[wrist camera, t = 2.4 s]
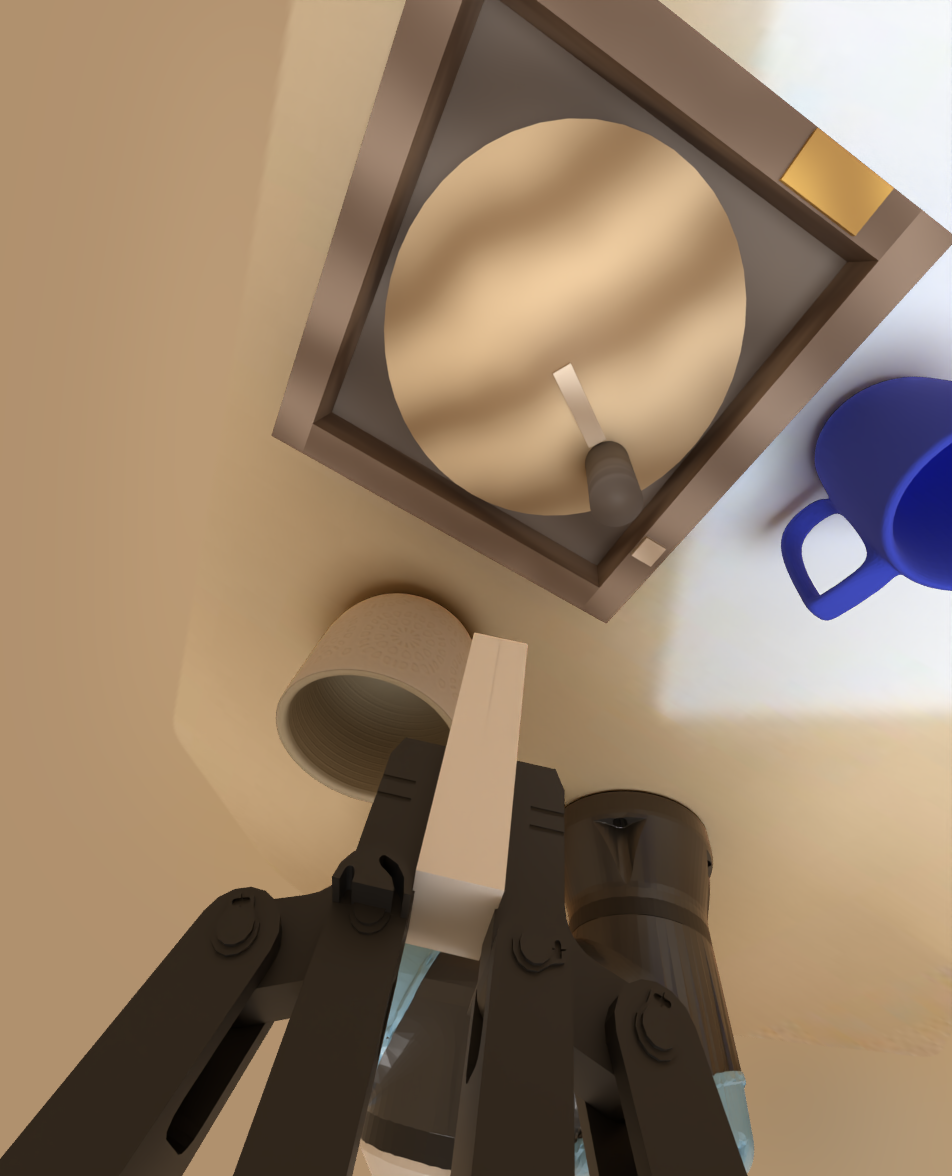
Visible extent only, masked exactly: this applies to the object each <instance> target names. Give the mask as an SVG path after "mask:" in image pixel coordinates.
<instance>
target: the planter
mask: <svg viewBox="0 0 952 1176" xmlns="http://www.w3.org/2000/svg"><path fill="white" fill-rule="evenodd" d="M471 643H472V640H471V638H470V636H469V634H468V632H467V631H466V629H465V628H464V626H463V625H462V624H461V622H460V621H459V620H458V619H457V618H456V617H455V616H454V615H453V614H451V613H450V612H449V611H448V610H446V609H445V608H444V607H442V606H440V605H439V604H437V603H435V602H433V601H431V600H428V599H426V598H423V597H420V596H416V595H411V594H402V593H391V594H383V595H378V596H374V597H371V598H368V599H366V600H363V601H361V602H359V603H357V604H356V605H354V606H352V607H351V608H349V609H348V610H347V611H345V612H344V613H343V614H342V615H341V616H340V617H339V618H338V619H337V620H336V621H335V622H334V623H333V624H332V625H331V626H330V627H329V629H328V630H327V631H326V633H325V634H324V635H323V637H322V638H321V639H320V641H319V642H318V643H317V645H316V646H315V647H314V649H313V650H312V652H311V653H310V655H309V656H308V658H307V659H306V661H305V662H304V664H303V665H302V667H301V668H300V670H299V671H298V673H297V674H296V675H295V677H294V678H293V680H292V681H291V682H290V684H289V686H288V687H287V689H286V690H285V692H284V693H283V695H282V697H281V699H280V701H279V703H278V706H277V711H276V725H277V730H278V734H279V737H280V739H281V742H282V744H283V745H284V747H285V749H286V751H287V752H288V753H289V755H290V756H291V757H292V759H293V760H294V761H295V762H296V763H297V764H298V765H299V766H300V767H301V768H302V769H303V770H304V771H305V772H306V773H308V774H309V775H310V776H311V777H313V778H314V779H315V780H317V781H318V782H320V783H322V784H323V785H325V786H327V787H329V788H330V789H332V790H334V791H336V792H339V793H341V794H343V795H346V796H349V797H351V798H355V799H358V800H361V801H365V802H370V803H373V802H374V799H375V796H376V794H377V790H378V788H379V785H380V782H381V779H382V777H383V774H384V771H385V768H386V765H387V762H388V759H389V757H390V754H391V752H392V751H393V750H394V749H395V748H396V747H397V746H398V745H399V744H400V743H401V742H402V741H403V740H404V739H405V738H406V737H407V738H411V739H416V740H420V741H425V742H429V743H433V744H438V745H442V746H447V741H448V737H449V733H450V729H451V725H452V721H453V717H454V713H455V709H456V705H457V701H458V697H459V692H460V688H461V684H462V680H463V676H464V672H465V668H466V664H467V660H468V656H469V652H470V648H471Z"/></svg>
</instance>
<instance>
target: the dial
mask: <svg viewBox="0 0 952 1176" xmlns="http://www.w3.org/2000/svg"><path fill="white" fill-rule="evenodd" d="M745 316H746V289H745V278H744V268H743V264H742V260H741V255H740V251H739V247H738V242H737V240H736V237H735V234H734V232H733V229H732V227H731V224H730V221H729V219H728V216H727V214H726V212H725V211H724V209H723V207H722V205H721V204H720V202H719V200H718V198H717V197H716V195H715V193H714V191H713V190H712V189H711V188H710V186H709V185H708V184H707V183H706V181H705V180H704V179H703V178H702V176H701V175H700V174H699V173H698V171H697V170H696V169H695V168H694V167H693V166H692V165H691V164H689V163H688V162H687V161H686V160H685V159H684V158H683V157H682V156H680V155H679V154H678V153H677V152H676V151H675V150H673V149H672V148H670V147H669V146H667V145H665V144H664V143H662V142H661V141H659V140H657V139H656V138H654V137H652V136H651V135H649V134H646V133H644V132H641V131H639V130H636V129H633V128H631V127H628V126H626V125H623V124H618V123H613V122H608V121H603V120H598V119H569V118H568V119H561V120H554V121H548V122H541V123H537V124H534V125H531V126H528V127H525V128H522V129H519V130H515V131H512V132H510V133H508V134H506V135H504V136H502V137H500V138H498V139H497V140H495V141H493V142H491V143H489V144H487V145H485V146H484V147H482V148H481V149H480V150H478V151H477V152H475V153H474V154H473V155H471V156H470V157H468V158H467V159H466V160H464V161H463V162H462V163H461V164H460V165H459V166H458V167H457V168H455V169H454V170H453V171H452V172H451V173H450V174H449V175H448V176H447V177H446V178H445V179H444V180H443V181H442V182H441V183H440V184H439V186H438V187H437V188H436V189H435V191H434V192H433V193H432V194H431V196H430V197H429V198H428V199H427V201H426V202H425V203H424V205H423V206H422V208H421V210H420V211H419V213H418V215H417V216H416V218H415V220H414V221H413V223H412V225H411V226H410V228H409V230H408V232H407V235H406V237H405V239H404V241H403V244H402V246H401V248H400V250H399V252H398V256H397V259H396V262H395V265H394V269H393V272H392V275H391V278H390V284H389V289H388V294H387V300H386V307H385V322H384V339H385V356H386V362H387V368H388V374H389V379H390V382H391V386H392V389H393V393H394V397H395V400H396V402H397V405H398V407H399V409H400V412H401V414H402V417H403V419H404V421H405V423H406V425H407V426H408V428H409V430H410V432H411V434H412V435H413V437H414V439H415V440H416V442H417V443H418V444H419V446H420V447H421V449H422V450H423V451H424V453H425V454H426V455H427V457H428V458H429V459H430V460H431V461H432V462H433V463H434V464H435V465H436V466H437V467H438V469H439V470H440V471H442V472H443V473H444V474H445V475H446V476H447V477H449V478H450V479H451V480H452V481H453V482H454V483H456V484H457V485H459V486H460V487H462V488H463V489H465V490H466V491H468V492H469V493H471V494H472V495H474V496H476V497H478V498H480V499H482V500H484V501H486V502H488V503H491V504H494V505H496V506H499V507H502V508H505V509H508V510H512V511H517V512H521V513H526V514H535V515H545V516H549V515H570V514H577V513H584V512H588V511H591V513H592V515H593V517H594V518H595V519H596V520H597V521H598V522H599V523H601V524H603V525H606V526H609V527H619V526H624V525H626V524H628V523H630V522H632V521H633V520H634V519H635V518H636V517H637V516H638V515H639V513H640V512H641V510H642V507H643V495H642V492H641V491H642V490H643V489H645V488H646V487H648V486H649V485H651V484H652V483H654V482H655V481H657V480H658V479H659V478H661V477H662V476H663V475H665V474H666V473H667V472H668V471H669V470H670V469H672V468H673V467H674V466H675V465H676V464H677V463H678V462H680V461H681V459H682V458H683V457H684V456H685V455H686V454H687V453H688V452H689V451H690V450H691V449H692V447H693V446H694V445H695V444H696V443H697V442H698V440H699V439H700V437H701V436H702V435H703V433H704V432H705V431H706V429H707V428H708V427H709V425H710V424H711V422H712V420H713V418H714V417H715V415H716V413H717V411H718V410H719V408H720V406H721V404H722V403H723V400H724V398H725V396H726V393H727V391H728V389H729V386H730V384H731V382H732V379H733V377H734V373H735V370H736V366H737V363H738V360H739V356H740V353H741V347H742V341H743V335H744V329H745Z"/></svg>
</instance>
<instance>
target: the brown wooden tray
mask: <svg viewBox="0 0 952 1176" xmlns="http://www.w3.org/2000/svg"><path fill="white" fill-rule="evenodd" d="M568 118H569V119H598V120H603V121H608V122H613V123H618V124H623V125H626V126H628V127H631V128H633V129H636V130H639V131H641V132H644V133H646V134H649V135H651V136H652V137H654V138H656V139H657V140H659V141H661V142H662V143H664V144H665V145H667V146H669V147H670V148H672V149H673V150H675V151H676V152H677V153H678V154H679V155H680V156H682V157H683V158H684V159H685V160H686V161H687V162H688V163H689V164H691V165H692V166H693V167H694V168H695V169H696V170H697V171H698V173H699V174H700V175H701V176H702V178H703V179H704V180H705V181H706V183H707V184H708V185H709V186H710V188H711V189H712V190H713V191H714V193H715V195H716V197H717V198H718V200H719V202H720V204H721V205H722V207H723V209H724V211H725V212H726V214H727V216H728V219H729V221H730V224H731V227H732V229H733V232H734V234H735V237H736V240H737V242H738V247H739V251H740V255H741V260H742V264H743V268H744V278H745V289H746V316H745V329H744V335H743V341H742V347H741V353H740V356H739V360H738V363H737V366H736V370H735V373H734V377H733V379H732V382H731V384H730V386H729V389H728V391H727V393H726V396H725V398H724V400H723V403H722V404H721V406H720V408H719V410H718V411H717V413H716V415H715V417H714V418H713V420H712V422H711V424H710V425H709V427H708V428H707V429H706V431H705V432H704V433H703V435H702V436H701V437H700V439H699V440H698V442H697V443H696V444H695V445H694V446H693V447H692V449H691V450H690V451H689V452H688V453H687V454H686V455H685V456H684V457H683V458H682V459H681V461H680V462H678V463H677V464H676V465H675V466H674V467H673V468H672V469H670V470H669V471H668V472H667V473H666V474H665V475H663V476H662V477H661V478H659V479H658V480H657V481H655V482H654V483H652V484H651V485H649V486H648V487H646V488H645V489H643V490H642V491H641V492H642V495H643V507H642V510H641V512H640V513H639V515H638V516H637V517H636V518H635V519H634V520H633V521H632V522H630V523H628V524H626V525H624V526H619V527H609V526H606V525H603V524H601V523H599V522H598V521H597V520H596V519H595V518H594V517H593V515H592V513H591V511H588V512H584V513H577V514H570V515H549V516H545V515H535V514H526V513H521V512H517V511H512V510H508V509H505V508H502V507H499V506H496V505H494V504H491V503H488V502H486V501H484V500H482V499H480V498H478V497H476V496H474V495H472V494H471V493H469V492H468V491H466V490H465V489H463V488H462V487H460V486H459V485H457V484H456V483H454V482H453V481H452V480H451V479H450V478H449V477H447V476H446V475H445V474H444V473H443V472H442V471H440V470H439V469H438V467H437V466H436V465H435V464H434V463H433V462H432V461H431V460H430V459H429V458H428V457H427V455H426V454H425V453H424V451H423V450H422V449H421V447H420V446H419V444H418V443H417V442H416V440H415V439H414V437H413V435H412V434H411V432H410V430H409V428H408V426H407V425H406V423H405V421H404V419H403V417H402V414H401V412H400V409H399V407H398V405H397V402H396V400H395V397H394V393H393V389H392V386H391V382H390V379H389V374H388V368H387V362H386V356H385V339H384V322H385V307H386V300H387V294H388V289H389V284H390V278H391V275H392V272H393V269H394V265H395V262H396V259H397V256H398V252H399V250H400V248H401V246H402V244H403V241H404V239H405V237H406V235H407V232H408V230H409V228H410V226H411V225H412V223H413V221H414V220H415V218H416V216H417V215H418V213H419V211H420V210H421V208H422V206H423V205H424V203H425V202H426V201H427V199H428V198H429V197H430V196H431V194H432V193H433V192H434V191H435V189H436V188H437V187H438V186H439V184H440V183H441V182H442V181H443V180H444V179H445V178H446V177H447V176H448V175H449V174H450V173H451V172H452V171H453V170H454V169H455V168H457V167H458V166H459V165H460V164H461V163H462V162H463V161H464V160H466V159H467V158H468V157H470V156H471V155H473V154H474V153H475V152H477V151H478V150H480V149H481V148H482V147H484V146H485V145H487V144H489V143H491V142H493V141H495V140H497V139H498V138H500V137H502V136H504V135H506V134H508V133H510V132H512V131H515V130H519V129H522V128H525V127H528V126H531V125H534V124H537V123H541V122H548V121H554V120H561V119H568ZM951 245H952V234H951V233H950V232H949V231H948V230H946V229H945V228H944V227H943V226H941V225H940V224H939V223H938V222H936V221H935V220H934V219H933V218H931V217H930V216H929V215H928V214H926V213H925V212H924V211H923V210H921V209H920V208H919V207H917V206H916V205H915V204H914V203H912V202H911V201H910V200H909V199H907V198H906V197H905V196H904V195H902V194H901V193H900V192H899V191H897V190H896V189H895V188H894V187H892V186H891V185H890V184H889V183H887V182H886V181H885V180H884V179H882V178H881V177H880V176H878V175H877V174H876V173H875V172H873V171H872V170H871V169H870V168H868V167H867V166H866V165H865V164H863V163H862V162H861V161H860V160H858V159H857V158H856V157H855V156H853V155H852V154H851V153H850V152H848V151H847V150H846V149H844V148H843V147H842V146H841V145H839V144H838V143H837V142H836V141H834V140H833V139H832V138H831V137H829V136H828V135H827V134H826V133H824V132H823V131H822V130H821V129H819V128H818V127H817V126H816V125H814V124H813V123H812V122H811V121H809V120H808V119H807V118H805V117H804V116H803V115H802V114H800V113H799V112H798V111H797V110H795V109H794V108H793V107H792V106H790V105H789V104H788V103H787V102H785V101H784V100H783V99H782V98H780V97H779V96H778V95H777V94H775V93H774V92H773V91H771V90H770V89H769V88H768V87H766V86H765V85H764V84H763V83H761V82H760V81H759V80H758V79H756V78H755V77H754V76H753V75H751V74H750V73H749V72H748V71H746V70H745V69H744V68H743V67H741V66H740V65H739V64H738V63H736V62H735V61H734V60H732V59H731V58H730V57H729V56H727V55H726V54H725V53H724V52H722V51H721V50H720V49H719V48H717V47H716V46H715V45H714V44H712V43H711V42H710V41H709V40H707V39H706V38H705V37H704V36H702V35H701V34H700V33H699V32H697V31H696V30H695V29H693V28H692V27H691V26H690V25H688V24H687V23H686V22H685V21H683V20H682V19H681V18H680V17H678V16H677V15H676V14H675V13H673V12H672V11H671V10H670V9H668V8H667V7H666V6H665V5H663V4H662V3H661V2H659V1H658V0H406V2H405V6H404V9H403V12H402V15H401V19H400V22H399V25H398V28H397V31H396V35H395V38H394V41H393V44H392V48H391V51H390V54H389V57H388V61H387V64H386V67H385V70H384V74H383V77H382V80H381V83H380V86H379V90H378V93H377V96H376V99H375V103H374V106H373V109H372V112H371V116H370V119H369V122H368V125H367V129H366V132H365V135H364V138H363V141H362V145H361V148H360V151H359V154H358V158H357V161H356V164H355V167H354V171H353V174H352V177H351V180H350V184H349V187H348V190H347V193H346V196H345V200H344V203H343V206H342V209H341V213H340V216H339V219H338V222H337V226H336V229H335V232H334V235H333V238H332V242H331V245H330V248H329V251H328V255H327V258H326V261H325V264H324V268H323V271H322V274H321V277H320V281H319V284H318V287H317V290H316V293H315V297H314V300H313V303H312V306H311V310H310V313H309V316H308V319H307V323H306V326H305V329H304V332H303V336H302V339H301V342H300V345H299V348H298V352H297V355H296V358H295V361H294V365H293V368H292V371H291V374H290V378H289V381H288V384H287V387H286V391H285V394H284V397H283V400H282V403H281V407H280V410H279V413H278V416H277V420H276V423H275V426H274V429H273V433H272V436H273V437H275V438H277V439H279V440H280V441H282V442H284V443H286V444H287V445H289V446H291V447H293V448H295V449H296V450H298V451H300V452H302V453H303V454H305V455H307V456H309V457H311V458H312V459H314V460H316V461H318V462H319V463H321V464H323V465H325V466H327V467H328V468H330V469H332V470H334V471H335V472H337V473H339V474H341V475H343V476H344V477H346V478H348V479H350V480H351V481H353V482H355V483H357V484H359V485H360V486H362V487H364V488H366V489H368V490H369V491H371V492H373V493H375V494H376V495H378V496H380V497H382V498H384V499H385V500H387V501H389V502H391V503H392V504H394V505H396V506H398V507H400V508H401V509H403V510H405V511H407V512H408V513H410V514H412V515H414V516H416V517H417V518H419V519H421V520H423V521H424V522H426V523H428V524H430V525H432V526H433V527H435V528H437V529H439V530H441V531H442V532H444V533H446V534H448V535H449V536H451V537H453V538H455V539H457V540H458V541H460V542H462V543H464V544H465V545H467V546H469V547H471V548H473V549H474V550H476V551H478V552H480V553H481V554H483V555H485V556H487V557H489V558H490V559H492V560H494V561H496V562H497V563H499V564H501V565H503V566H505V567H506V568H508V569H510V570H512V571H514V572H515V573H517V574H519V575H521V576H522V577H524V578H526V579H528V580H530V581H531V582H533V583H535V584H537V585H538V586H540V587H542V588H544V589H546V590H547V591H549V592H551V593H553V594H554V595H556V596H558V597H560V598H562V599H563V600H565V601H567V602H569V603H570V604H572V605H574V606H576V607H578V608H579V609H581V610H583V611H585V612H587V613H588V614H590V615H592V616H594V617H595V618H597V619H599V620H601V621H603V622H604V623H607V622H608V621H609V620H610V619H611V618H612V617H613V616H614V615H615V614H616V612H617V611H618V610H619V609H620V608H621V607H622V606H623V605H624V604H625V603H626V601H627V600H628V599H629V598H630V597H631V596H632V595H633V594H634V593H635V592H636V590H637V589H638V588H639V587H640V586H641V585H642V584H643V583H644V582H645V581H646V579H647V578H648V577H649V576H650V575H651V574H652V573H653V572H654V571H655V570H656V569H657V567H658V566H659V565H660V564H661V563H662V562H663V561H664V560H665V559H666V558H667V556H668V555H669V554H670V553H671V552H672V551H673V550H674V549H675V548H676V547H677V545H678V544H679V543H680V542H681V541H682V540H683V539H684V538H685V537H686V536H687V535H688V533H689V532H690V531H691V530H692V529H693V528H694V527H695V526H696V525H697V524H698V522H699V521H700V520H701V519H702V518H703V517H704V516H705V515H706V514H707V513H708V511H709V510H710V509H711V508H712V507H713V506H714V505H715V504H716V503H717V502H718V500H719V499H720V498H721V497H722V496H723V495H724V494H725V493H726V492H727V491H728V490H729V488H730V487H731V486H732V485H733V484H734V483H735V482H736V481H737V480H738V479H739V477H740V476H741V475H742V474H743V473H744V472H745V471H746V470H747V469H748V468H749V466H750V465H751V464H752V463H753V462H754V461H755V460H756V459H757V458H758V457H759V455H760V454H761V453H762V452H763V451H764V450H765V449H766V448H767V447H768V446H769V445H770V443H771V442H772V441H773V440H774V439H775V438H776V437H777V436H778V435H779V434H780V432H781V431H782V430H783V429H784V428H785V427H786V426H787V425H788V424H789V423H790V421H791V420H792V419H793V418H794V417H795V416H796V415H797V414H798V413H799V412H800V411H801V409H802V408H803V407H804V406H805V405H806V404H807V403H808V402H809V401H810V400H811V398H812V397H813V396H814V395H815V394H816V393H817V392H818V391H819V390H820V389H821V387H822V386H823V385H824V384H825V383H826V382H827V381H828V380H829V379H830V378H831V376H832V375H833V374H834V373H835V372H836V371H837V370H838V369H839V368H840V367H841V366H842V364H843V363H844V362H845V361H846V360H847V359H848V358H849V357H850V356H851V355H852V353H853V352H854V351H855V350H856V349H857V348H858V347H859V346H860V345H861V344H862V342H863V341H864V340H865V339H866V338H867V337H868V336H869V335H870V334H871V333H872V331H873V330H874V329H875V328H876V327H877V326H878V325H879V324H880V323H881V322H882V321H883V319H884V318H885V317H886V316H887V315H888V314H889V313H890V312H891V311H892V310H893V308H894V307H895V306H896V305H897V304H898V303H899V302H900V301H901V300H902V299H903V297H904V296H905V295H906V294H907V293H908V292H909V291H910V290H911V289H912V288H913V287H914V285H915V284H916V283H917V282H918V281H919V280H920V279H921V278H922V277H923V276H924V274H925V273H926V272H927V271H928V270H929V269H930V268H931V267H932V266H933V265H934V263H935V262H936V261H937V260H938V259H939V258H940V257H941V256H942V255H943V254H944V252H945V251H946V250H947V249H948V248H949V247H950V246H951Z"/></svg>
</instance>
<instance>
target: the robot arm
mask: <svg viewBox="0 0 952 1176" xmlns="http://www.w3.org/2000/svg"><path fill="white" fill-rule="evenodd" d="M527 647H528V644H526V643H522V642H517V641H512V640H508V639H503V638H498V637H494V636H489V635H484V634H480V633H475V632H474V635H473V639H472V643H471V648H470V652H469V656H468V660H467V664H466V668H465V672H464V676H463V680H462V684H461V688H460V692H459V697H458V701H457V705H456V709H455V713H454V717H453V721H452V725H451V729H450V733H449V737H448V741H447V746H442V745H438V744H433V743H429V742H425V741H420V740H416V739H411V738H407V737H406V738H405V739H404V740H403V741H402V742H401V743H400V744H399V745H398V746H397V747H396V748H395V749H394V750H393V751H392V752H391V754H390V757H389V759H388V762H387V765H386V768H385V771H384V774H383V777H382V779H381V782H380V785H379V788H378V790H377V794H376V796H375V799H374V802H373V804H372V807H371V810H370V813H369V816H368V818H367V821H366V824H365V827H364V830H363V833H362V835H361V838H360V841H359V844H358V847H357V849H356V851H354V852H353V853H351V854H350V855H349V856H348V857H347V858H345V859H344V860H343V861H342V862H341V863H340V864H339V866H338V868H337V869H336V871H335V873H334V874H333V876H332V885H331V886H330V887H328V888H326V889H324V890H322V891H320V892H316V893H312V894H308V895H302V896H294V897H287V898H279V899H273V898H272V897H271V896H270V895H269V894H268V893H267V892H266V891H263V890H260V889H257V888H253V887H247V888H239V889H234V890H232V891H230V892H228V893H226V894H224V895H222V896H220V897H218V898H217V899H216V900H215V901H214V902H213V903H212V904H211V905H209V906H208V907H207V908H206V909H205V910H204V911H203V913H202V914H201V915H200V916H199V917H198V919H197V920H196V921H195V922H194V924H193V925H192V926H191V927H190V928H189V929H188V931H187V932H186V933H185V934H184V936H183V937H182V938H181V939H180V940H179V942H178V943H177V944H176V945H175V947H174V948H173V949H172V950H171V952H170V953H169V954H168V955H167V956H166V958H165V959H164V960H163V961H162V963H161V964H160V965H159V966H158V967H157V968H156V970H155V971H154V972H153V973H152V975H151V976H150V977H149V978H148V980H147V981H146V982H145V983H144V985H143V986H142V987H141V988H140V989H139V990H138V992H137V993H136V994H135V995H134V997H133V998H132V999H131V1000H130V1001H129V1003H128V1004H127V1005H126V1006H125V1008H124V1009H123V1010H122V1011H121V1012H120V1014H119V1015H118V1016H117V1017H116V1018H115V1020H114V1021H113V1022H112V1023H111V1025H110V1026H109V1027H108V1028H107V1029H106V1031H105V1032H104V1033H103V1034H102V1036H101V1037H100V1038H99V1039H98V1040H97V1042H96V1043H95V1044H94V1045H93V1046H92V1048H91V1049H90V1050H89V1051H88V1053H87V1054H86V1055H85V1056H84V1058H83V1059H82V1060H81V1061H80V1062H79V1064H78V1065H77V1066H76V1067H75V1068H74V1070H73V1071H72V1072H71V1073H70V1075H69V1076H68V1077H67V1078H66V1080H65V1081H64V1082H63V1083H62V1084H61V1086H60V1087H59V1088H58V1089H57V1090H56V1092H55V1093H54V1094H53V1095H52V1096H51V1098H50V1099H49V1100H48V1101H47V1103H46V1104H45V1105H44V1106H43V1108H42V1109H41V1110H40V1111H39V1112H38V1114H37V1115H36V1116H35V1117H34V1119H33V1120H32V1121H31V1122H30V1123H29V1124H28V1126H27V1127H26V1128H25V1129H24V1131H23V1132H22V1133H21V1134H20V1136H19V1137H18V1138H17V1139H16V1140H15V1142H14V1143H13V1144H12V1145H11V1146H10V1148H9V1149H8V1150H7V1151H6V1153H5V1154H4V1155H3V1156H2V1157H1V1159H0V1176H182V1175H183V1173H184V1172H185V1170H186V1168H187V1167H188V1165H189V1163H190V1162H191V1160H192V1158H193V1157H194V1155H195V1153H196V1152H197V1150H198V1148H199V1147H200V1145H201V1143H202V1142H203V1140H204V1138H205V1137H206V1135H207V1133H208V1132H209V1130H210V1128H211V1127H212V1125H213V1123H214V1121H215V1120H216V1118H217V1117H218V1115H219V1113H220V1111H221V1110H222V1108H223V1107H224V1105H225V1103H226V1101H227V1100H228V1098H229V1096H230V1095H231V1093H232V1091H233V1090H234V1088H235V1086H236V1085H237V1083H238V1081H239V1080H240V1078H241V1076H242V1075H243V1073H244V1071H245V1070H246V1068H247V1066H248V1065H249V1063H250V1061H251V1060H252V1058H253V1056H254V1055H255V1053H256V1051H257V1050H258V1048H259V1046H260V1045H261V1043H262V1041H263V1040H264V1038H265V1036H266V1035H267V1033H268V1031H269V1030H270V1028H271V1026H272V1025H273V1023H274V1021H278V1020H283V1019H288V1018H290V1020H289V1022H288V1025H287V1028H286V1031H285V1034H284V1036H283V1039H282V1042H281V1045H280V1047H279V1050H278V1053H277V1056H276V1058H275V1061H274V1064H273V1067H272V1069H271V1072H270V1075H269V1078H268V1081H267V1083H266V1086H265V1089H264V1092H263V1094H262V1097H261V1100H260V1103H259V1105H258V1108H257V1111H256V1114H255V1116H254V1119H253V1122H252V1125H251V1128H250V1130H249V1133H248V1136H247V1139H246V1142H245V1144H244V1147H243V1150H242V1152H241V1155H240V1158H239V1161H238V1164H237V1166H236V1169H235V1172H234V1174H233V1176H352V1174H353V1170H354V1165H355V1161H356V1156H357V1152H358V1147H359V1144H360V1147H361V1149H362V1152H363V1155H364V1157H365V1159H366V1162H367V1165H368V1167H369V1169H370V1172H371V1175H372V1176H747V1173H748V1172H749V1170H750V1168H751V1166H752V1162H753V1157H754V1141H753V1135H752V1130H751V1124H750V1119H749V1113H748V1108H747V1103H746V1097H745V1092H744V1088H745V1085H746V1081H745V1077H744V1074H743V1072H741V1068H740V1064H739V1060H738V1055H737V1051H736V1046H735V1042H734V1038H733V1033H732V1029H731V1025H730V1020H729V1016H728V1012H727V1007H726V1003H725V999H724V994H723V990H722V985H721V981H720V977H719V972H718V968H717V964H716V959H715V955H714V951H713V947H712V942H711V938H710V933H709V928H708V910H709V897H710V879H709V878H710V876H711V873H712V868H713V857H712V851H711V847H710V843H709V839H708V835H707V832H706V829H705V827H704V825H703V824H702V822H701V821H700V820H699V818H698V817H697V816H696V815H695V814H693V813H692V812H691V811H690V810H688V809H687V808H685V807H684V806H682V805H680V804H678V803H676V802H674V801H672V800H669V799H666V798H664V797H660V796H657V795H652V794H647V793H641V792H629V791H618V792H606V793H600V794H595V795H592V796H588V797H585V798H582V799H580V800H578V801H576V802H574V803H572V804H570V805H569V806H567V807H566V808H565V809H564V789H563V786H562V784H561V781H560V779H559V777H558V774H557V772H556V769H551V768H547V767H542V766H538V765H533V764H529V763H524V762H520V761H517V753H518V742H519V732H520V721H521V711H522V700H523V690H524V679H525V668H526V658H527ZM565 905H566V909H567V912H568V917H569V926H568V923H567V920H566V913H565ZM360 1139H361V1140H360Z"/></svg>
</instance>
